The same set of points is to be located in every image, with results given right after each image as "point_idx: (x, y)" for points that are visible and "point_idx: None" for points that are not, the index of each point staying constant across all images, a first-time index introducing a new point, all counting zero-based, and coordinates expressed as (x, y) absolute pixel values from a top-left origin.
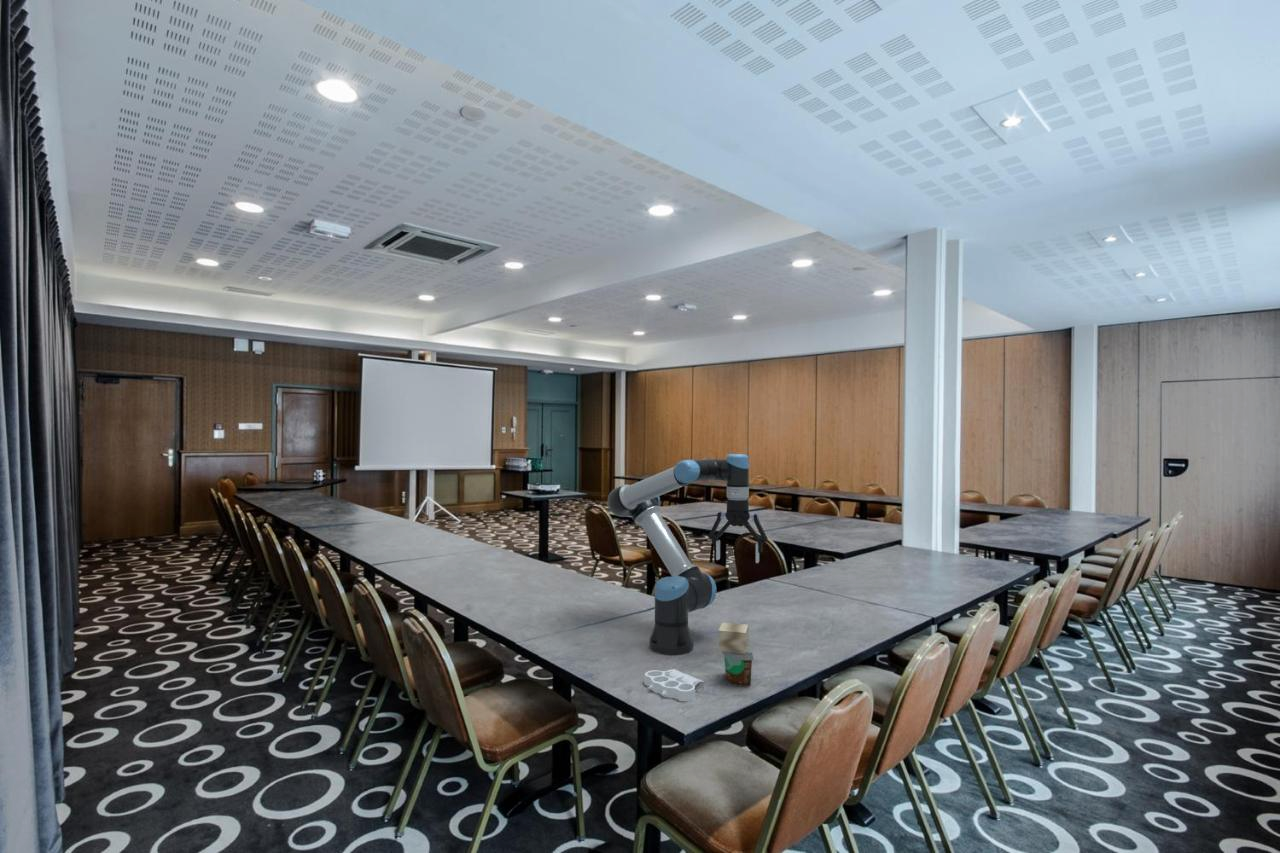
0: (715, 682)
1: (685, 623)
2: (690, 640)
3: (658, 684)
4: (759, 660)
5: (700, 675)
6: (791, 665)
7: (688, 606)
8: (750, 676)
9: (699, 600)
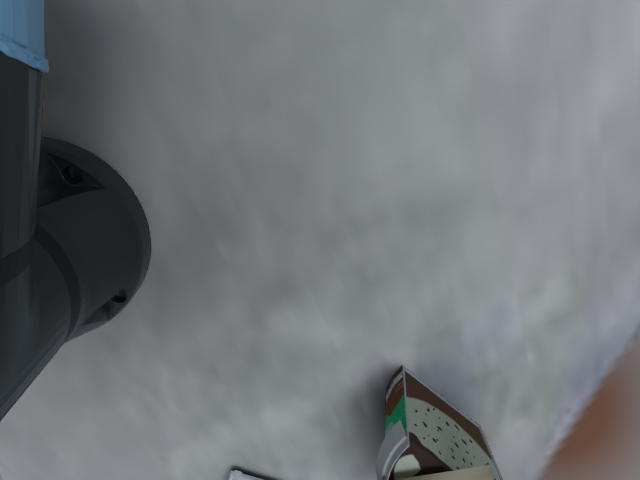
0: (366, 452)
1: (75, 303)
2: (129, 249)
3: None
4: (457, 197)
5: (299, 426)
6: (602, 186)
7: (29, 321)
8: (489, 451)
9: (29, 222)
